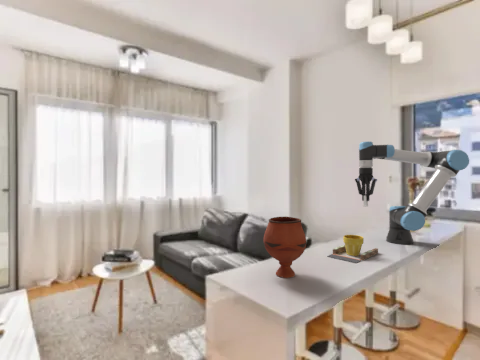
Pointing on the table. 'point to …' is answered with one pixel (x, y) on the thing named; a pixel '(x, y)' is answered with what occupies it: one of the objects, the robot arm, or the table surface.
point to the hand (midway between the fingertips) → (365, 206)
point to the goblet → (285, 242)
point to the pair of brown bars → (362, 256)
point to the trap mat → (344, 258)
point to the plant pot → (353, 244)
